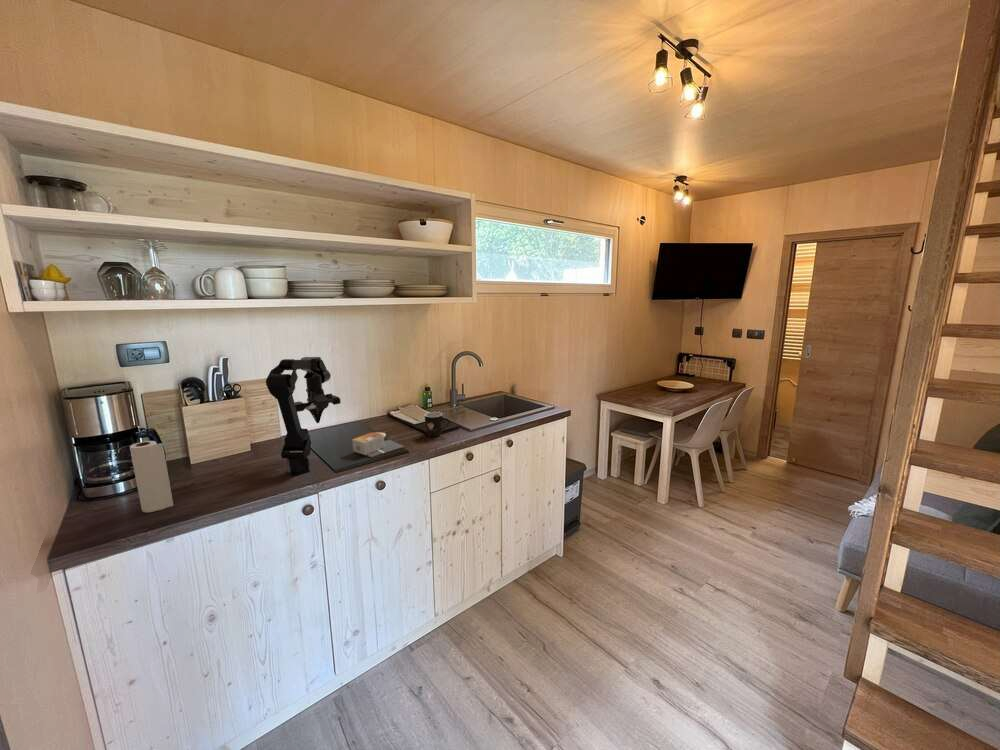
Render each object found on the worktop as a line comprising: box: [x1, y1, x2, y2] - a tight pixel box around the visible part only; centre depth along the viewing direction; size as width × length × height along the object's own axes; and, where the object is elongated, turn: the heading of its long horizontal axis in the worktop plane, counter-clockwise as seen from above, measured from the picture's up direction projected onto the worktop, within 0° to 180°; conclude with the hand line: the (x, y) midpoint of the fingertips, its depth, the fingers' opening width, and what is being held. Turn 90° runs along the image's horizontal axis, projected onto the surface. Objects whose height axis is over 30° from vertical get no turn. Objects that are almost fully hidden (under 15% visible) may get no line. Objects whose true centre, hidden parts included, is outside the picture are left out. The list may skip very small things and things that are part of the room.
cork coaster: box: [374, 431, 387, 438], centre depth 189 cm, size 9×9×1 cm
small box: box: [351, 432, 385, 456], centre depth 171 cm, size 8×6×10 cm
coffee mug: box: [423, 411, 450, 438], centre depth 190 cm, size 12×9×10 cm
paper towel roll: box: [129, 440, 174, 513], centre depth 123 cm, size 7×6×21 cm
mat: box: [365, 439, 405, 459], centre depth 173 cm, size 16×12×1 cm
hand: (317, 423), depth 168 cm, fingers closed
